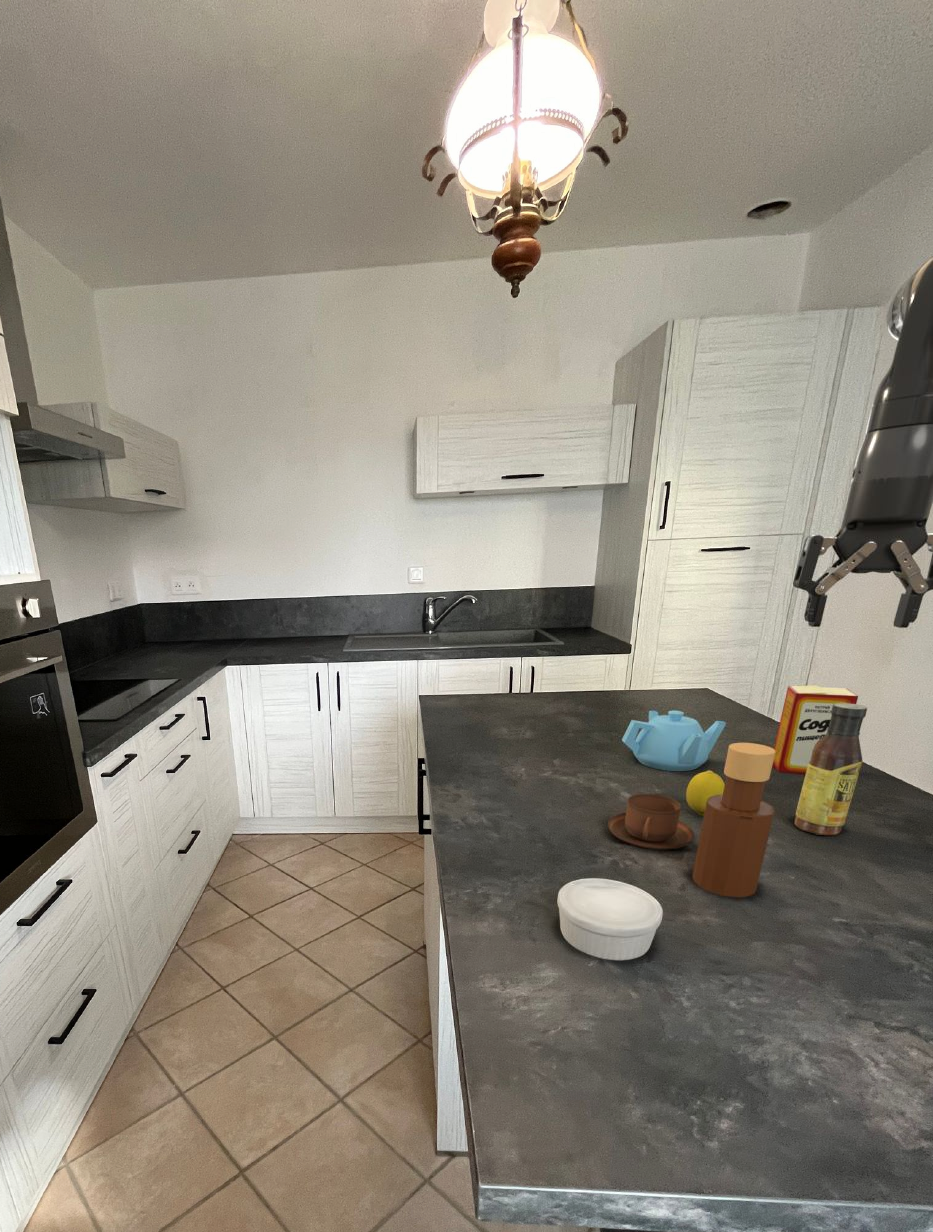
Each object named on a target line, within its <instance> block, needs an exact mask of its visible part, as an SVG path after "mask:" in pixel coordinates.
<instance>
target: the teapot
mask: <svg viewBox="0 0 933 1232" xmlns="http://www.w3.org/2000/svg"><path fill="white" fill-rule="evenodd" d="M684 715H685V712H683V711H680V710H669V711H668V714H663V715H659V711H656V710H649V711H648V722H647V721H641V720H640V721H639V720H635V719H631V721H630V723H629V725H628V727H627V729H626V731H625V733H624V735H623V737H622V739H621V741H622V742H623V743H624V744H625V745H626V746H627V747H628V748H629V749H630V750H631V751H632V753H633V755H634V757H635V758H636V759H637V760H638V762H639V763H641V764H642V765H643V766H646V767H649V768H652V769H657V770H661V771H668V772H669V771H671V772H688V771H693V770H697V769H698V768H699V767H701V766H702V765H703V764H705V763H706V762H707V760H708V759H709V754H710V753H711V751H712V750H713V748H714V746H715V744H716V743H717V741H718V739H719V737H721V736H720V735H721V734H722V733H723V730H724V728H725V727H726V725H727V722H725V721H723V720H715V721H714V723H713V724H712V725H711V726H709V727H708V729H706V730H705V731H704V730H703V727H702V726H701V724H700V723H699V721H698V720H697V719H694V718H692V717H689V716H684ZM640 729H641V730H640ZM639 730H640V732H639Z"/></svg>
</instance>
